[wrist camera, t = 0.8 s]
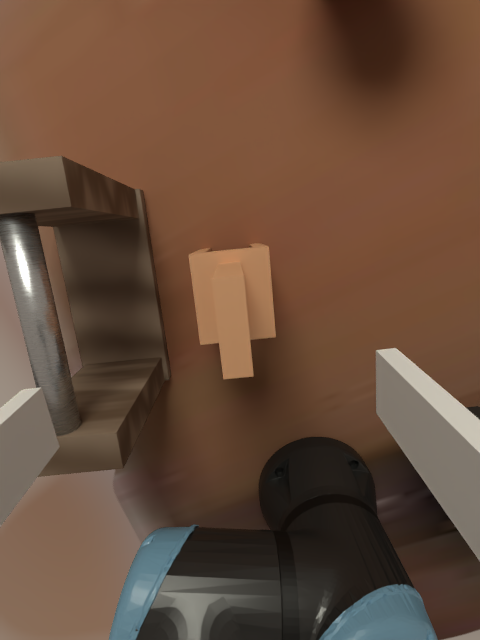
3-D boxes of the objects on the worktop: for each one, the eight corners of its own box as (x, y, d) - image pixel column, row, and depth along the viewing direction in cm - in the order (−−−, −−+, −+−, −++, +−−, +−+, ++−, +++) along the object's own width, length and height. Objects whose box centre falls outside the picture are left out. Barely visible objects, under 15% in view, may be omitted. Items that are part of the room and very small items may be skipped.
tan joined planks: (265, 310, 44) (296, 387, 22) (208, 316, 44) (183, 399, 22) (259, 243, 42) (287, 252, 20) (200, 249, 42) (164, 265, 20)
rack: (171, 375, 45) (129, 467, 27) (91, 383, 45) (-2, 480, 27) (142, 190, 40) (69, 155, 22) (53, 199, 40) (-92, 171, 22)
